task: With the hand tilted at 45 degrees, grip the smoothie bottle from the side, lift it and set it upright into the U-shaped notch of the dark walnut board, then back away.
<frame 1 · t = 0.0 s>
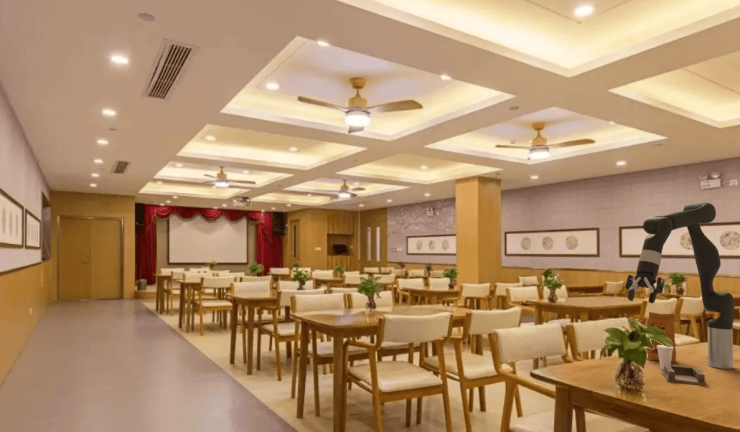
hand: (640, 301, 200), 31 cm above the table, tool tilted 20°, fingers open, 8 cm apart
smoothie: (665, 369, 219), on the table
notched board: (683, 379, 203), on the table
coffee package: (660, 360, 236), on the table
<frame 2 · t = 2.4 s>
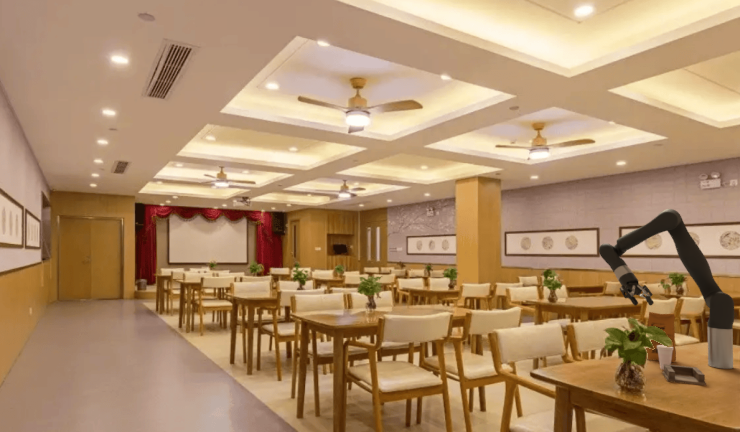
hand: (644, 304, 231), 26 cm above the table, tool tilted 45°, fingers open, 8 cm apart
nothing on the table moved.
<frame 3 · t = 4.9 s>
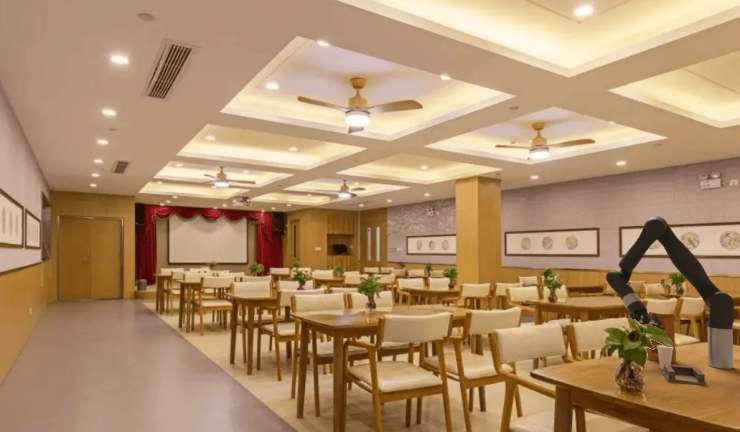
hand: (653, 334, 226), 14 cm above the table, tool tilted 45°, fingers open, 8 cm apart
nothing on the table moved.
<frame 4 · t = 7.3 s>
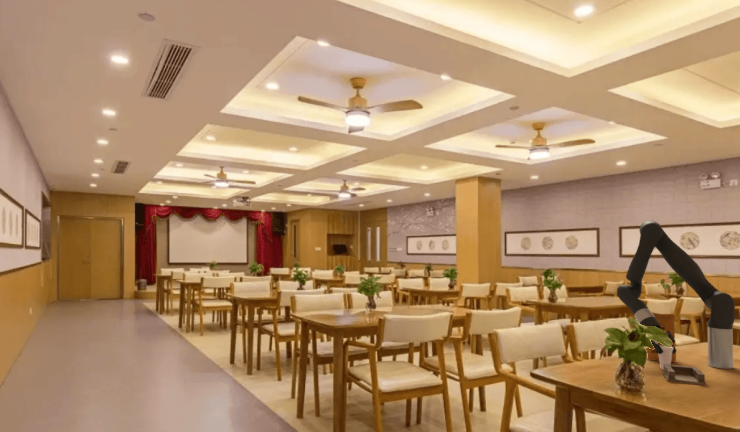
hand: (668, 352, 218), 7 cm above the table, tool tilted 45°, fingers closed on smoothie, 6 cm apart
smoothie: (665, 369, 219), on the table, touching gripper
everything else where it was.
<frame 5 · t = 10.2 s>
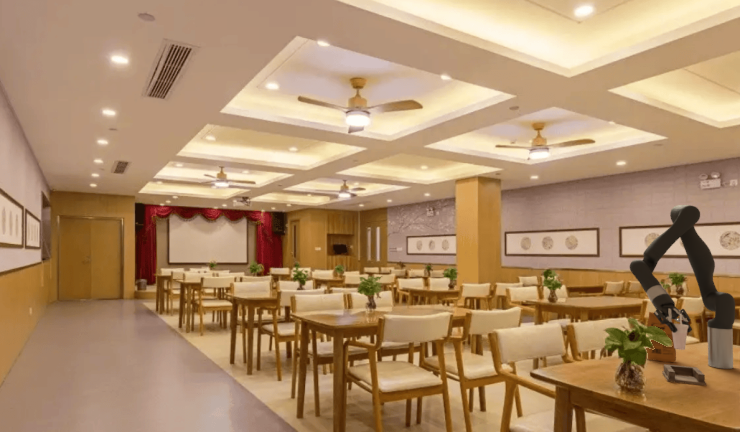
hand: (682, 331, 204), 19 cm above the table, tool tilted 45°, fingers closed on smoothie, 6 cm apart
smoothie: (679, 349, 205), point 12 cm above the table, touching gripper
everything else where it was.
when the fingers open (10 cm above the table, at t = 13.2 s): smoothie drops 1 cm, resting on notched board.
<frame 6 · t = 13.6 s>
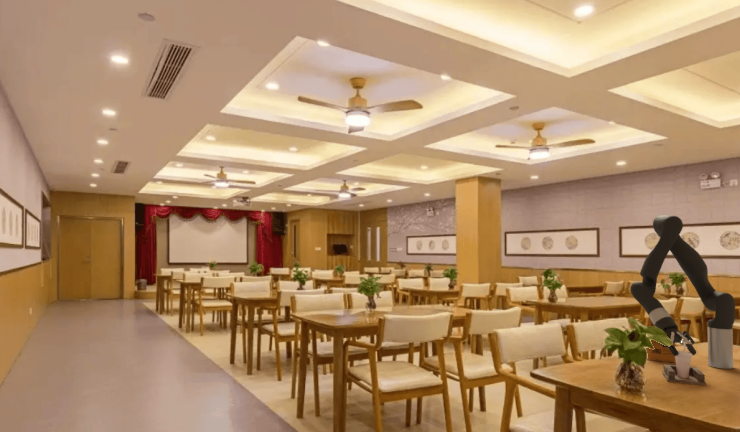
hand: (685, 354, 202), 10 cm above the table, tool tilted 45°, fingers open, 8 cm apart
smoothie: (682, 377, 203), point 1 cm above the table, touching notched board
everything else where it was.
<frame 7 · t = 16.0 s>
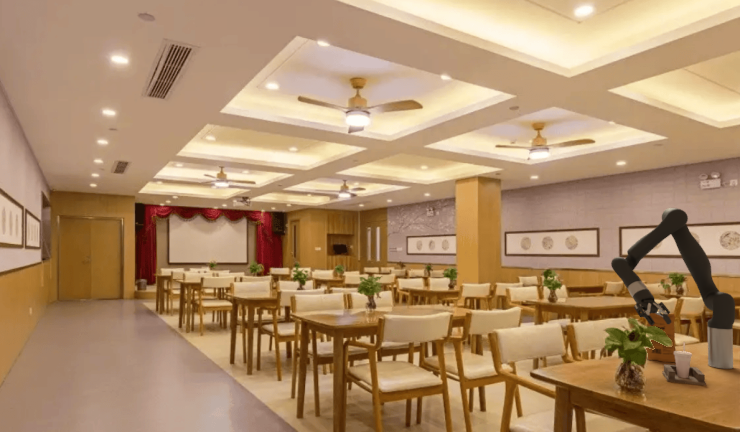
hand: (661, 323, 215), 20 cm above the table, tool tilted 45°, fingers open, 8 cm apart
nothing on the table moved.
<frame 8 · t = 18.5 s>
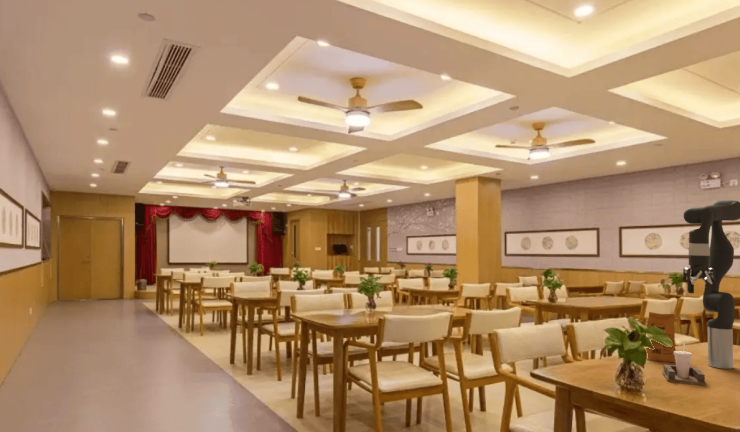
hand: (699, 293, 211), 34 cm above the table, tool pointing down, fingers open, 8 cm apart
nothing on the table moved.
at the end: smoothie 0.3 cm off-centre on the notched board, point 0.8 cm above the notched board's base; smoothie tilted 0°; the gripper is holding nothing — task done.
